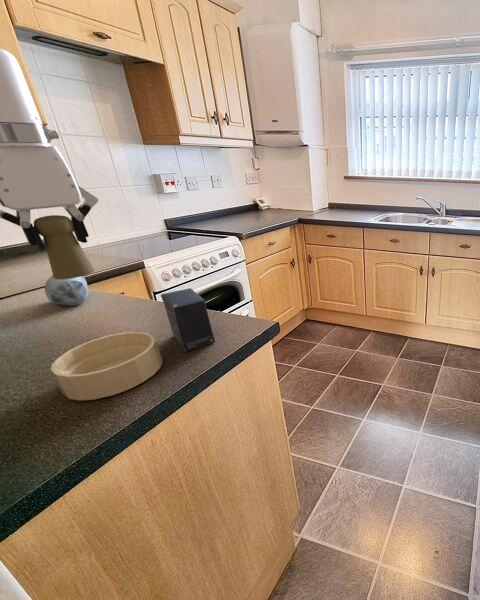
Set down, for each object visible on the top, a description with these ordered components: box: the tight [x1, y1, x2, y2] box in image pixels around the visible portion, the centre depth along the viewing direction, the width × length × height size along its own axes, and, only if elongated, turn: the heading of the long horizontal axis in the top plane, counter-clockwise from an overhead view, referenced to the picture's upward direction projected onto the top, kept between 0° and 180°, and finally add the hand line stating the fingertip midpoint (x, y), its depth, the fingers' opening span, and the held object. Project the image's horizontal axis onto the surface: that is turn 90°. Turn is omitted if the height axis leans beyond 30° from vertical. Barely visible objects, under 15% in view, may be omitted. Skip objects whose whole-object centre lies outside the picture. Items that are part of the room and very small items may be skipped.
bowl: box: [50, 331, 163, 401], centre depth 63 cm, size 15×15×6 cm
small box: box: [160, 287, 216, 353], centre depth 75 cm, size 11×6×10 cm, turn 44°
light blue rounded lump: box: [44, 274, 89, 307], centre depth 95 cm, size 14×10×10 cm
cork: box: [33, 214, 96, 279], centre depth 63 cm, size 6×6×11 cm
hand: (62, 244), depth 62 cm, fingers closed on cork, 5 cm apart
